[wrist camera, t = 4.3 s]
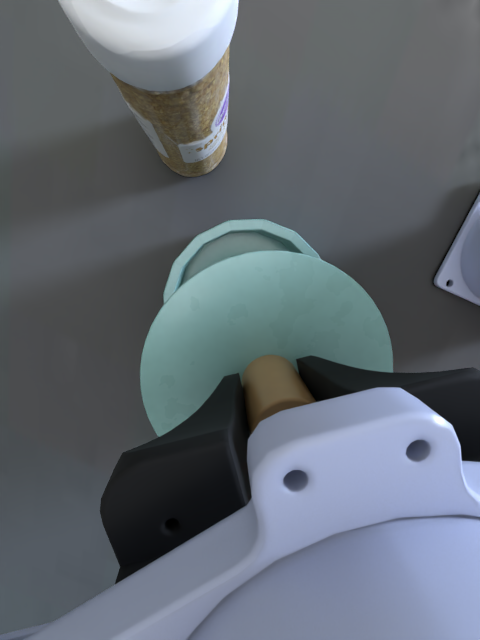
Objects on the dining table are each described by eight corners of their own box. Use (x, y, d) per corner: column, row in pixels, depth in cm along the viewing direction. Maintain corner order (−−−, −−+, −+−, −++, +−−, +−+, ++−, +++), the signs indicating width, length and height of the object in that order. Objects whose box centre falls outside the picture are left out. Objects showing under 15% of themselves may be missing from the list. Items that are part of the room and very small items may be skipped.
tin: (315, 221, 22) (333, 216, 18) (313, 360, 24) (329, 379, 20) (165, 226, 21) (155, 222, 18) (178, 369, 23) (171, 389, 20)
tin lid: (389, 245, 14) (486, 244, 9) (373, 465, 16) (443, 563, 11) (132, 255, 13) (79, 259, 8) (157, 481, 15) (128, 592, 11)
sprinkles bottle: (225, 180, 21) (237, 64, 8) (153, 175, 20) (34, 43, 7) (229, 101, 20) (249, -193, 7) (153, 94, 19) (16, -231, 6)
